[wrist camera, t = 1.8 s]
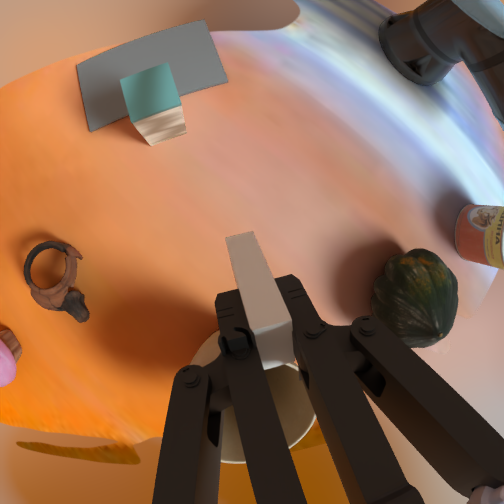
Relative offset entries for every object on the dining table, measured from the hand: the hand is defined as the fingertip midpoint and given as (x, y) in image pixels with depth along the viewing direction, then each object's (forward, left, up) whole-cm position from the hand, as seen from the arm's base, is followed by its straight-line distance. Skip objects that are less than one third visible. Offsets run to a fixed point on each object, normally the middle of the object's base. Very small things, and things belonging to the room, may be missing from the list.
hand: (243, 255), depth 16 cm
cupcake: (+41, +5, -23) cm, 47 cm away
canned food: (-45, +16, -23) cm, 54 cm away
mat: (+3, -25, -23) cm, 34 cm away
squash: (-23, +19, -23) cm, 38 cm away
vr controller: (+23, -1, -23) cm, 33 cm away
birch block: (+3, -16, -23) cm, 28 cm away
